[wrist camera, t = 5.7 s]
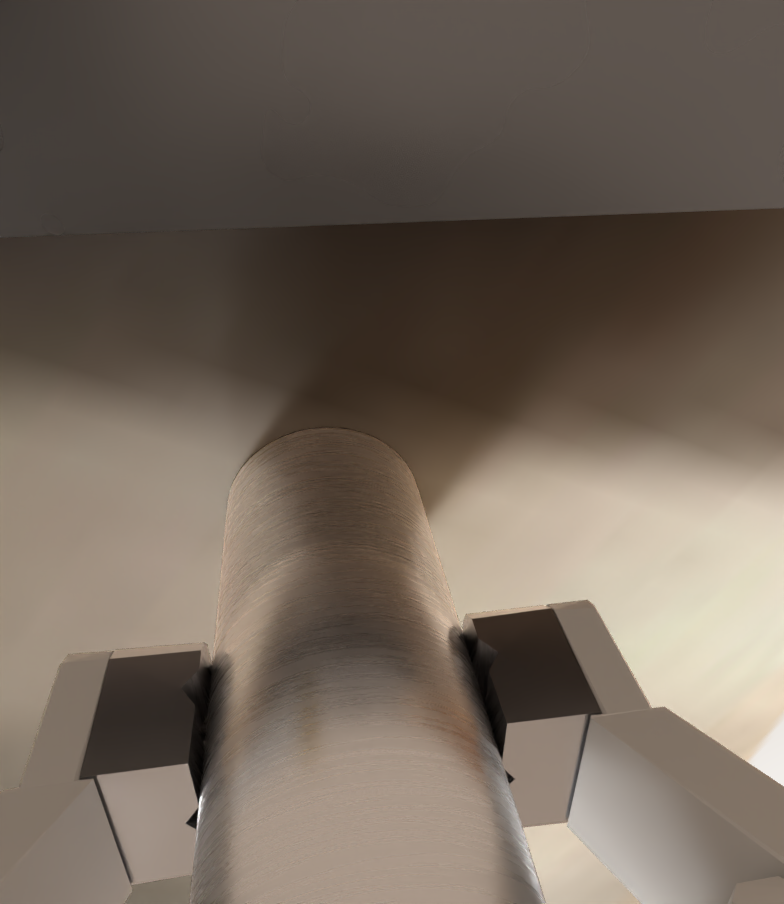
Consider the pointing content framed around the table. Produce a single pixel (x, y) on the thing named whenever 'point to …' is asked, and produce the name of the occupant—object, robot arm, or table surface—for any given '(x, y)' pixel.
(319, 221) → the flange plate
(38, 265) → the table surface
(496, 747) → the steel peg
